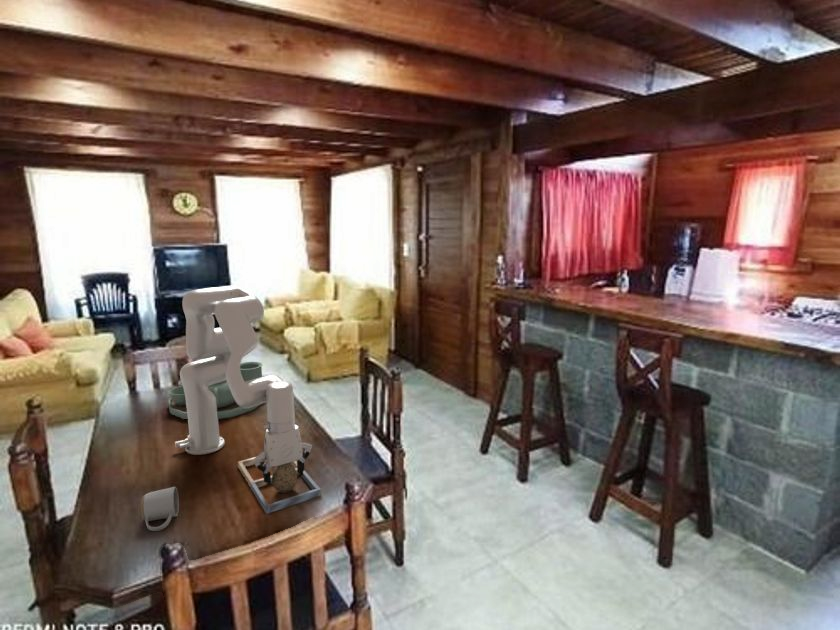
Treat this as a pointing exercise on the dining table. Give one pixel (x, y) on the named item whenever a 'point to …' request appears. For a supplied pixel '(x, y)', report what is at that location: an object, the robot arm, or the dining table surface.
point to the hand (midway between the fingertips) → (284, 478)
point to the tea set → (217, 394)
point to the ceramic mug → (160, 506)
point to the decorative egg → (284, 478)
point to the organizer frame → (260, 482)
